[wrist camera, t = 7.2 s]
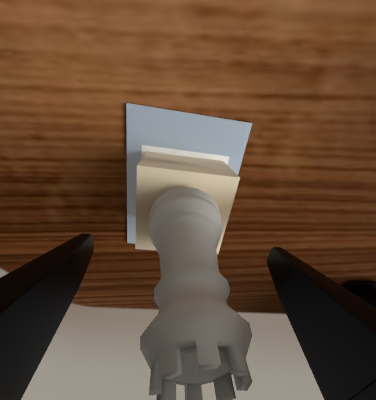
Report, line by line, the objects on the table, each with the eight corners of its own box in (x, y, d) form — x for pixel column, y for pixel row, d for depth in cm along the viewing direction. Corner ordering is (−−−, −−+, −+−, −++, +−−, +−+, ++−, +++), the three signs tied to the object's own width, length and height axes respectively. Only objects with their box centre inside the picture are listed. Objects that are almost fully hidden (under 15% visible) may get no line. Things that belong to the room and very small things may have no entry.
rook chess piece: (171, 252, 13) (167, 431, 6) (135, 204, 11) (59, 382, 4) (228, 226, 12) (307, 393, 5) (200, 170, 10) (263, 309, 3)
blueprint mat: (216, 247, 18) (217, 249, 18) (127, 241, 17) (127, 243, 17) (251, 123, 13) (252, 123, 13) (127, 103, 12) (126, 102, 12)
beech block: (208, 223, 17) (218, 254, 13) (144, 218, 16) (135, 249, 12) (223, 161, 14) (240, 177, 11) (146, 151, 13) (136, 165, 10)
